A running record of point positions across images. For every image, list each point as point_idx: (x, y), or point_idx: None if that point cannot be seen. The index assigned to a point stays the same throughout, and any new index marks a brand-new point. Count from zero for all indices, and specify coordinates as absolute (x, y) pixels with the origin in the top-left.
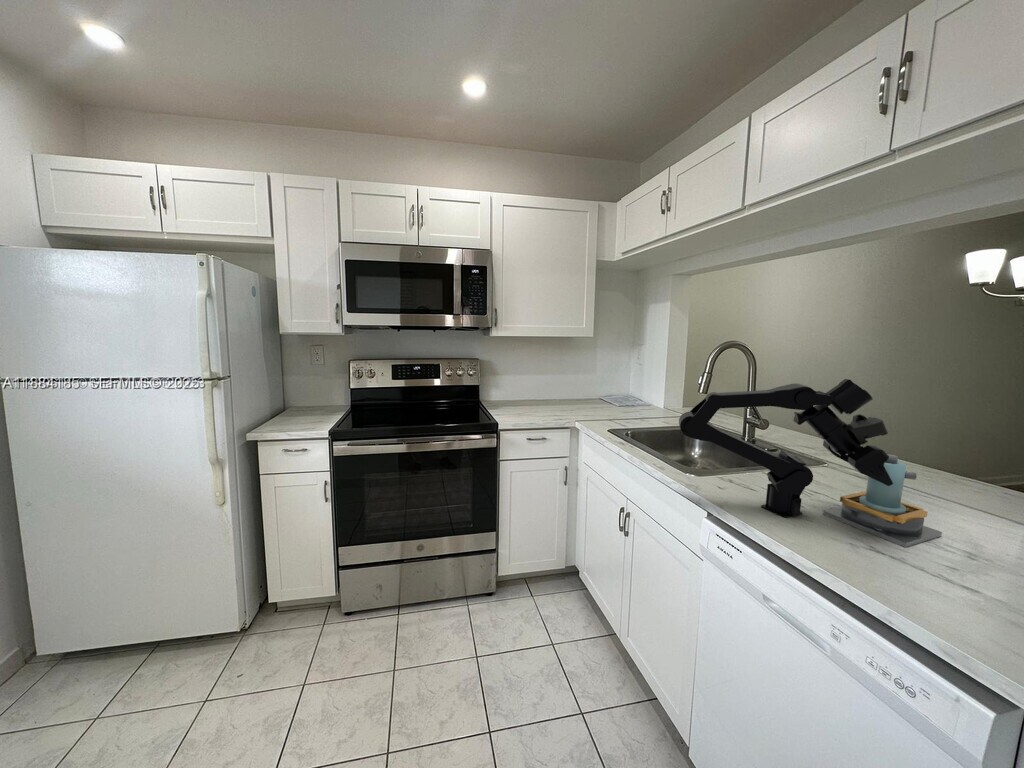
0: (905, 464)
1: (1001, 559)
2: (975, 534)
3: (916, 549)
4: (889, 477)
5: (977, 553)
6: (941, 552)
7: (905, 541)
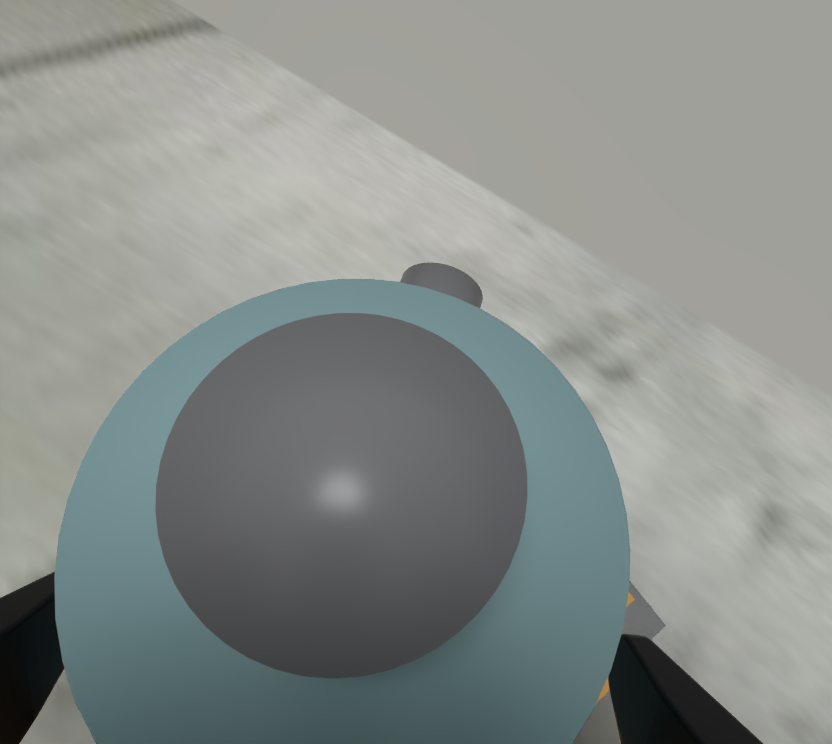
0: (459, 309)
1: (577, 274)
2: (361, 207)
3: (634, 567)
4: (739, 729)
5: (557, 320)
6: (614, 461)
7: (645, 616)
